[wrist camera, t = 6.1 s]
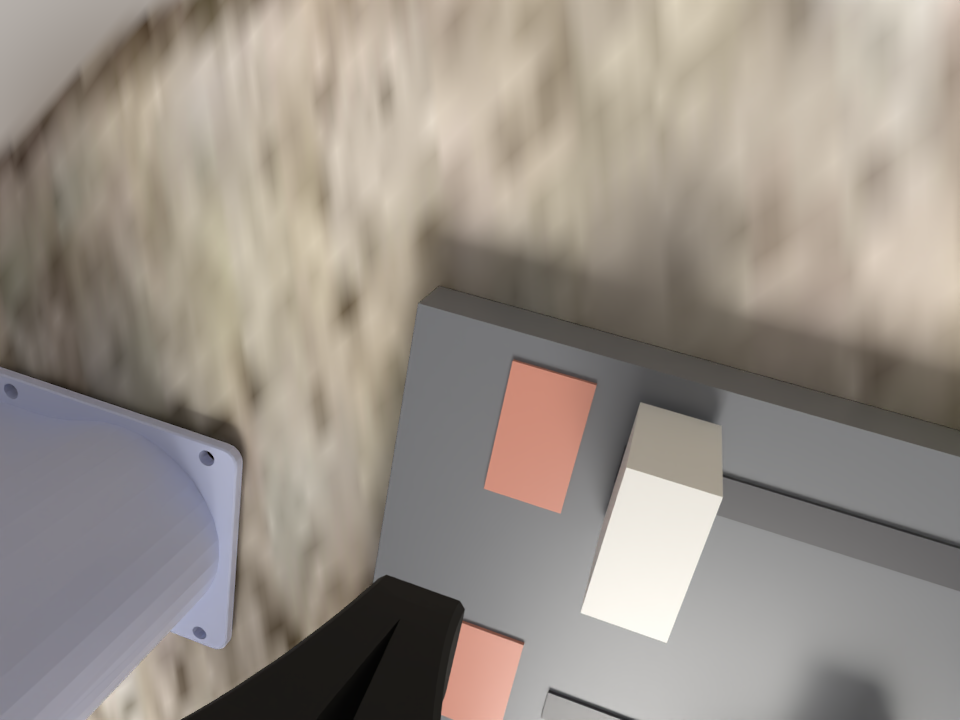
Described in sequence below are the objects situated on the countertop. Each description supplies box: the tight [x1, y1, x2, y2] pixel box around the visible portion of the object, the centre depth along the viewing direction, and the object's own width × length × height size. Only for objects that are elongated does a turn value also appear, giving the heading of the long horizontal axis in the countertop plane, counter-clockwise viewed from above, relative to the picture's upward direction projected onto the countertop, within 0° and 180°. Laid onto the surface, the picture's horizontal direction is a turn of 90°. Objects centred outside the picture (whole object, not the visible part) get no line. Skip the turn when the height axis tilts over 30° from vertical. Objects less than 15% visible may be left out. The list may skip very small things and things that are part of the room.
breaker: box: [581, 402, 723, 643], centre depth 16 cm, size 2×4×3 cm, turn 170°
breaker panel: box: [373, 286, 960, 720], centre depth 19 cm, size 20×13×2 cm, turn 79°
